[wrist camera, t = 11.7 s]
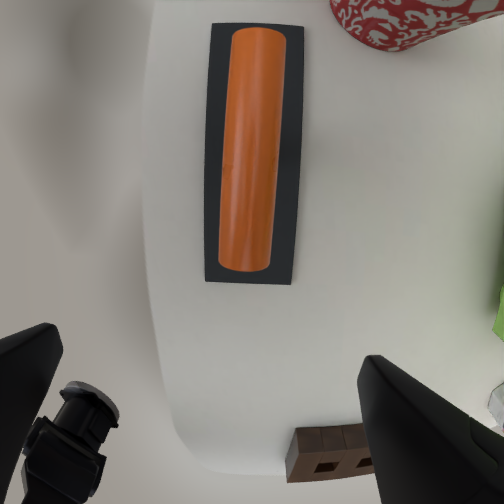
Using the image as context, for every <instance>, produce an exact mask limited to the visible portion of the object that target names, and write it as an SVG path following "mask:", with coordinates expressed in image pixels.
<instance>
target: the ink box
mask: <svg viewBox="0 0 504 504" xmlns="http://www.w3.org/2000/svg"><path fill="white" fill-rule="evenodd" d="M488 409H489V411H490V413H491V414H492V415H493V417H494V418H495V420H496V422H497V423H498V425H499V426H500V428H501V429H502V431H503V432H504V383H503V384H502V385H500V386H499V387H498V388H496V389H495V390H493V392H492V395H491V399H490V402H489V406H488Z"/></svg>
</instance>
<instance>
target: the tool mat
mask: <svg viewBox="0 0 504 504" xmlns="http://www.w3.org/2000/svg"><path fill="white" fill-rule="evenodd" d="M252 27H260V28H268V29H272V30H275V31H278V32H280V33H282V34H283V35H284V36H285V38H286V54H285V72H284V88H283V104H282V119H281V133H280V147H279V160H278V173H277V186H276V198H275V210H274V222H273V234H272V245H271V256H270V264H269V266H268V267H267V268H265V269H263V270H259V271H253V272H243V271H235V270H231V269H228V268H225V267H223V266H222V265H221V264H220V263H219V260H218V259H219V228H220V203H221V182H222V163H223V146H224V130H225V116H226V102H227V89H228V77H229V66H230V55H231V44H232V36H233V34H234V33H235V32H236V31H238V30H241V29H244V28H252ZM303 77H304V27H302V26H293V25H281V24H265V23H213V24H212V31H211V43H210V56H209V70H208V87H207V106H206V131H205V168H204V256H205V281H206V282H227V283H251V284H279V285H291V279H292V269H293V258H294V246H295V234H296V222H297V208H298V194H299V178H300V160H301V140H302V114H303Z"/></svg>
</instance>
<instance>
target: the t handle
mask: <svg viewBox="0 0 504 504" xmlns="http://www.w3.org/2000/svg"><path fill="white" fill-rule="evenodd" d="M285 54H286V38H285V36H284V35H283V34H282V33H280V32H278V31H275V30H272V29H268V28H260V27H252V28H244V29H241V30H238V31H236V32H235V33H234V34H233V36H232V44H231V55H230V66H229V77H228V89H227V102H226V116H225V130H224V146H223V163H222V182H221V203H220V228H219V259H218V260H219V263H220V264H221V265H222V266H223V267H225V268H228V269H231V270H235V271H243V272H253V271H259V270H263V269H265V268H267V267H268V266H269V264H270V256H271V245H272V234H273V222H274V210H275V198H276V186H277V173H278V160H279V147H280V133H281V119H282V104H283V88H284V72H285Z"/></svg>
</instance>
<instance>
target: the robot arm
mask: <svg viewBox="0 0 504 504" xmlns="http://www.w3.org/2000/svg"><path fill="white" fill-rule="evenodd" d="M62 354H63V345H62V342H61V339H60V335H59V332H58V329H57V327H56V326H55V325H54V324H50V323H42V324H39V325H36V326H34V327H31V328H28V329H26V330H23V331H20V332H18V333H15V334H13V335H10V336H7V337H5V338H2V339H0V504H4V501H5V498H6V494H7V490H8V487H9V484H10V481H11V478H12V475H13V472H14V469H15V466H16V463H17V461H18V458H19V456H20V453H21V451H22V448H24V449H23V452H22V454H24V455H25V456H26V459H25V461H24V464H23V467H22V470H21V476H22V482H23V488H24V493H25V497H24V499H23V501H22V503H21V504H83V503H85V502H86V501H87V500H88V497H92V496H93V495H94V493H95V492H96V490H97V488H98V486H99V483H100V480H101V477H102V473H103V469H104V465H105V462H106V458H107V457H106V456H104V455H101V454H100V453H98V450H99V448H100V446H101V443H104V441H105V439H106V437H107V434H108V432H109V430H110V428H118V426H119V424H118V423H117V422H116V420H115V419H114V418H113V416H112V415H111V414H110V412H109V411H108V410H107V408H106V407H105V406H104V404H103V403H102V401H101V400H100V399H99V397H98V396H97V394H96V393H94V392H89V391H72V390H61V391H60V392H59V393H60V395H61V396H62V398H63V399H64V400H65V402H64V404H63V406H62V407H61V409H60V410H59V412H58V414H57V415H56V417H55V419H54V420H53V422H51V421H50V420H49V419H48V418H47V417H46V416H44V417H43V418H40V417H38V418H37V419H36V420H35V417H36V415H37V413H38V411H39V409H40V407H41V405H42V402H43V400H44V398H45V396H46V394H47V392H48V389H49V387H50V384H51V382H52V379H53V376H54V374H55V371H56V369H57V366H58V364H59V361H60V359H61V357H62ZM357 386H358V393H359V399H360V406H361V412H362V420H363V426H364V431H365V435H366V439H367V443H368V447H369V451H370V455H371V459H372V463H373V467H374V472H375V476H376V480H377V485H378V489H379V494H380V498H381V503H382V504H504V437H502V436H501V435H499V434H497V433H495V432H493V431H492V430H490V429H489V428H487V427H486V426H484V425H483V424H481V423H479V422H478V421H476V420H475V419H474V418H472V417H469V415H468V414H466V413H465V412H463V411H462V410H460V409H459V408H457V407H456V406H454V405H453V404H451V403H450V402H448V401H447V400H445V399H444V398H442V397H441V396H440V395H438V394H437V393H435V392H434V391H432V390H431V389H429V388H428V387H426V386H425V385H423V384H422V383H420V382H419V381H418V380H416V379H415V378H413V377H412V376H410V375H409V374H407V373H406V372H405V371H403V370H402V369H400V368H399V367H397V366H396V365H394V364H393V363H391V362H390V361H389V360H387V359H386V358H384V357H383V356H381V355H368V356H366V357H365V359H364V362H363V364H362V367H361V370H360V373H359V375H358V379H357ZM34 420H35V422H34ZM33 422H34V424H33ZM32 424H33V425H32Z"/></svg>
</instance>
